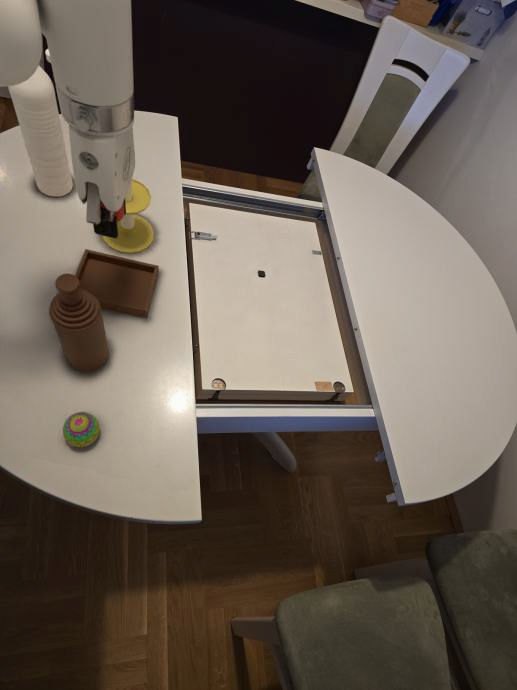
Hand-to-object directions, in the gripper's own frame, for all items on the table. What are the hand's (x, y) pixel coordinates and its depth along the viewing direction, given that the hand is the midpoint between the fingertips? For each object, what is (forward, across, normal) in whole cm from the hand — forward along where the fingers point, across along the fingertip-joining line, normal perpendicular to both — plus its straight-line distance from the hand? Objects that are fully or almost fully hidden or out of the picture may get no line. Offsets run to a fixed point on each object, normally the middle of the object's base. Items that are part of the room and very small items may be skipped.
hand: (110, 222), depth 57 cm
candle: (+17, +13, +1) cm, 21 cm away
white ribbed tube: (+17, +21, +16) cm, 31 cm away
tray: (+17, 0, 0) cm, 17 cm away
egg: (+17, -27, -2) cm, 32 cm away
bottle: (+17, -14, +1) cm, 22 cm away
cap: (-2, 0, 0) cm, 2 cm away
